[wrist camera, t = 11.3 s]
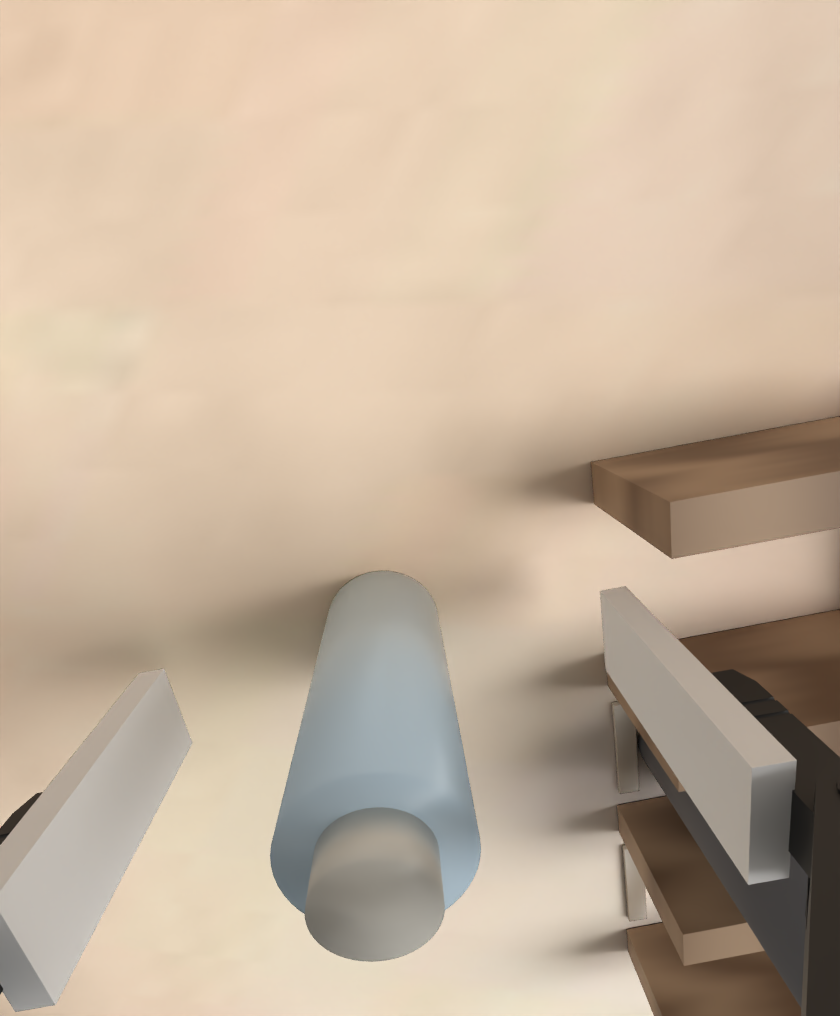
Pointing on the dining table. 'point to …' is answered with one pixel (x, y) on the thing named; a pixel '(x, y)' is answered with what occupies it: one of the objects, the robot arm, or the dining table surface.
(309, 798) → the light blue bottle
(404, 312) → the dining table surface
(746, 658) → the comb rack
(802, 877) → the charcoal plug
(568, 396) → the dining table surface
